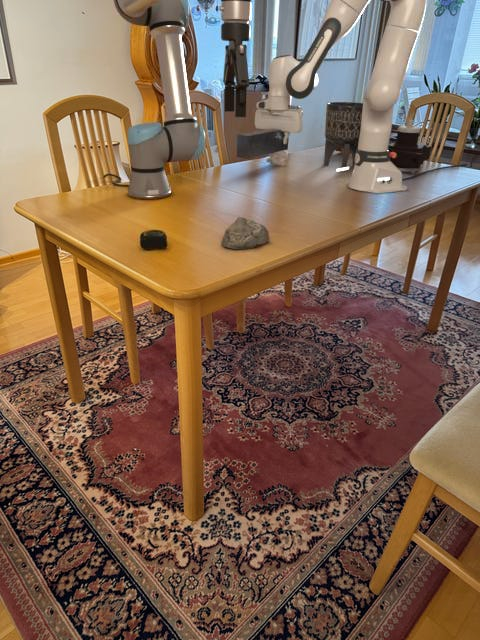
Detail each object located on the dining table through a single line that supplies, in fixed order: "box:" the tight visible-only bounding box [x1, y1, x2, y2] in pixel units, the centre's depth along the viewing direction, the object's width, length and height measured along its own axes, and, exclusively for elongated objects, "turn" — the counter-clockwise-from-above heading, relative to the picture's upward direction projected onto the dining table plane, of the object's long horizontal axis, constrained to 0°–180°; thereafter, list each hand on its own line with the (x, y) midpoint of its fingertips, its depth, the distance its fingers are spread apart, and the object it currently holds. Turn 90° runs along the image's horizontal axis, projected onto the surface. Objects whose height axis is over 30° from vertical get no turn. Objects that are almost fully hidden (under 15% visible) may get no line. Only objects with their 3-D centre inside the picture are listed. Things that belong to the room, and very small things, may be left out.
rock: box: [221, 216, 270, 250], centre depth 119 cm, size 13×9×6 cm, turn 131°
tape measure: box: [139, 229, 168, 250], centre depth 117 cm, size 7×7×4 cm
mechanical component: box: [388, 119, 433, 174], centre depth 204 cm, size 22×21×30 cm
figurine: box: [265, 144, 290, 166], centre depth 208 cm, size 8×15×13 cm, turn 145°
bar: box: [236, 129, 290, 160], centre depth 172 cm, size 28×5×8 cm, turn 143°
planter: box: [323, 101, 363, 172], centre depth 204 cm, size 20×20×26 cm
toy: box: [335, 147, 352, 155], centre depth 240 cm, size 11×6×15 cm
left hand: (234, 114), depth 126 cm, fingers open, 13 cm apart
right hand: (277, 142), depth 179 cm, fingers closed on bar, 5 cm apart
